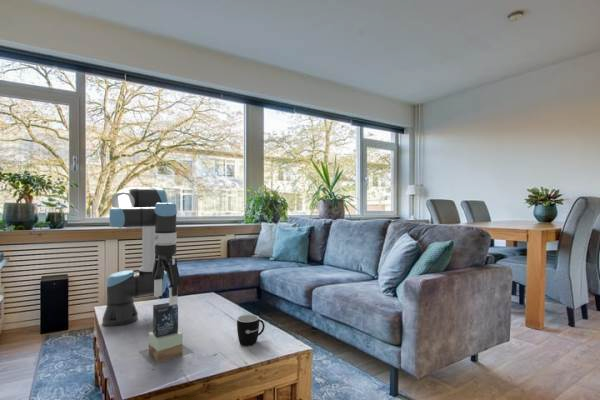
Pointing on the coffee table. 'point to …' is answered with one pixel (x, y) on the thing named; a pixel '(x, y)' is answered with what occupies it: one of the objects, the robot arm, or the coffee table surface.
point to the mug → (248, 329)
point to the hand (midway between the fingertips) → (165, 300)
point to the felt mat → (146, 355)
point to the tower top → (165, 340)
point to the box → (165, 319)
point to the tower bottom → (165, 353)
